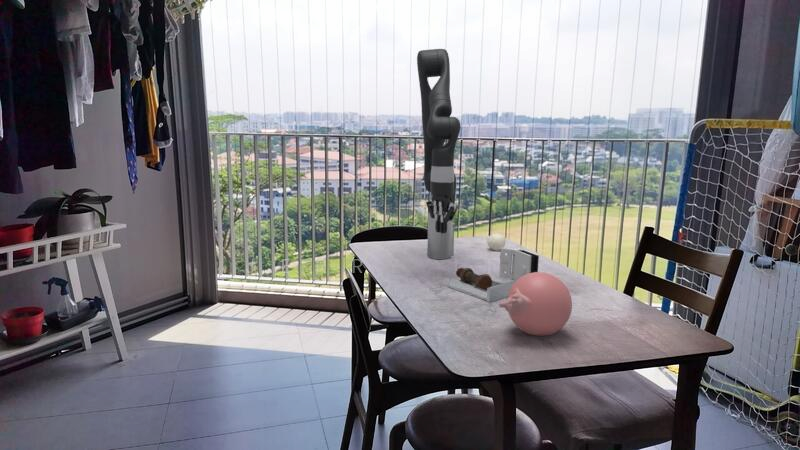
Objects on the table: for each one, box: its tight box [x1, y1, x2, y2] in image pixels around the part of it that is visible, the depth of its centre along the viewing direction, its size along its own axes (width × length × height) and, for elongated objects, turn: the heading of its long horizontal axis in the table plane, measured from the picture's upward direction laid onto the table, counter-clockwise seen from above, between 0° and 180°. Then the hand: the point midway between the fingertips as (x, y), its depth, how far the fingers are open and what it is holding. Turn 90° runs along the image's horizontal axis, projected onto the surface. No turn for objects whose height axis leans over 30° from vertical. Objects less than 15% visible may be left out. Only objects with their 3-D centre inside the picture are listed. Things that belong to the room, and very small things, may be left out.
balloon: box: [498, 271, 573, 337], centre depth 129 cm, size 15×20×15 cm
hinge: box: [498, 247, 540, 282], centre depth 172 cm, size 14×5×10 cm, turn 37°
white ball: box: [486, 232, 506, 251], centre depth 212 cm, size 7×7×7 cm
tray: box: [443, 273, 516, 303], centre depth 163 cm, size 11×19×4 cm, turn 38°
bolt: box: [455, 267, 493, 291], centre depth 165 cm, size 6×5×15 cm
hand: (441, 232), depth 174 cm, fingers closed
